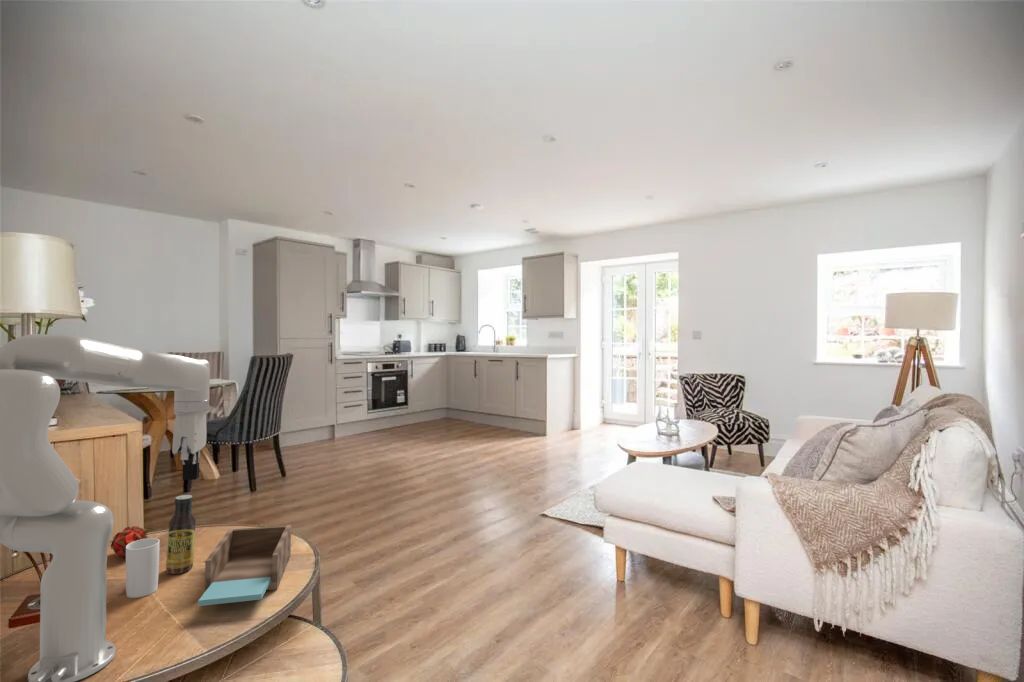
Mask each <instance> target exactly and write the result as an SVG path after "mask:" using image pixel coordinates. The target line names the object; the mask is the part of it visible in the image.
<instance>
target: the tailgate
mask: <svg viewBox="0 0 1024 682" xmlns="http://www.w3.org/2000/svg"><path fill="white" fill-rule="evenodd" d="M270 579H271V577H263V578H253V579H243V580H232V581H222V582H212V584H211V585H210V586H209V588H208V589H207V590H206V591H205V590H204V593H203V594H202V595H201V597H200V598H199V599H198V601H197V604H198V605H197V606H198V607H203V606H210V605H211V606H213V605H219V604H220V605H221V604H229V603H230V604H231V603H239V602H247V601H248V602H250V601H259V600H262V599H263V597H264V595H265V593H266V592H267V591H266V589H267V587H268V585H269V584H270Z"/></svg>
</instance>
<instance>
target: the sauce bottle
mask: <svg viewBox="0 0 1024 682" xmlns="http://www.w3.org/2000/svg"><path fill="white" fill-rule="evenodd" d="M193 498H194V497H193V495H191V494H182V495H179V496H176V497H174V504H175V505H174V506H175V507H174V514H173V515H172V517H171V519H170V520H169V523H168V532H167V540H166V541H167V543H166V559H165V570H166V573H167V574H169V575H180V574H183V572H184V573H186V572H189V571H190V570H191V569H192V568H193V567H194V559H195V543H196V542H195V541H196V539H195V538H196V521H197V520H196V518H195V517H194V515H193V514H192V503H193V500H194V499H193Z"/></svg>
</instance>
